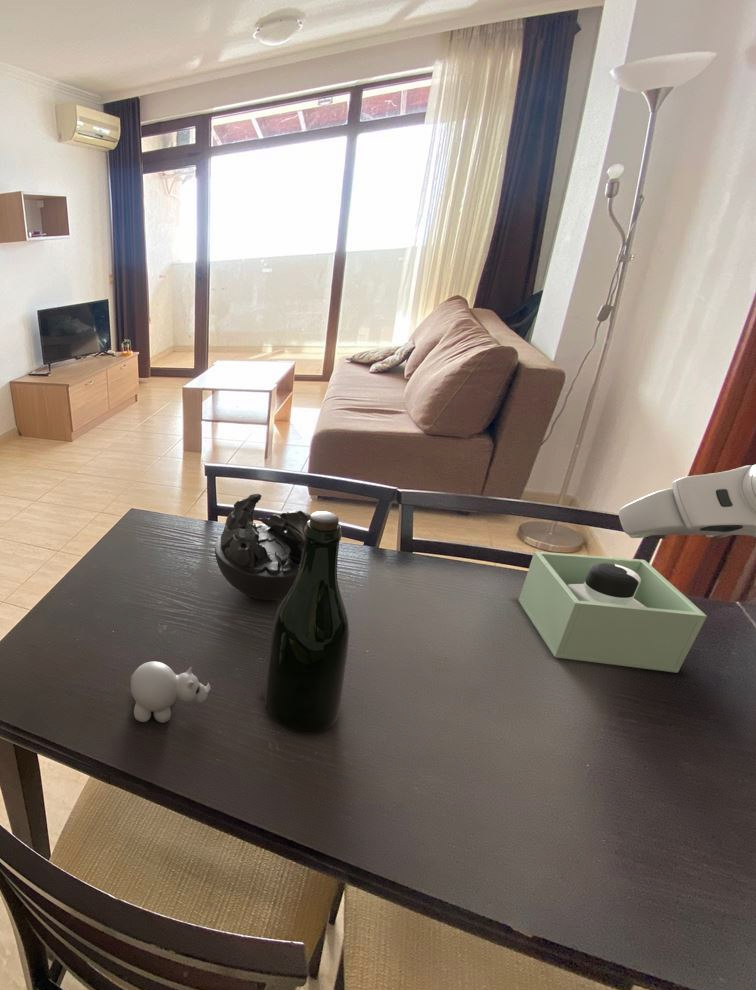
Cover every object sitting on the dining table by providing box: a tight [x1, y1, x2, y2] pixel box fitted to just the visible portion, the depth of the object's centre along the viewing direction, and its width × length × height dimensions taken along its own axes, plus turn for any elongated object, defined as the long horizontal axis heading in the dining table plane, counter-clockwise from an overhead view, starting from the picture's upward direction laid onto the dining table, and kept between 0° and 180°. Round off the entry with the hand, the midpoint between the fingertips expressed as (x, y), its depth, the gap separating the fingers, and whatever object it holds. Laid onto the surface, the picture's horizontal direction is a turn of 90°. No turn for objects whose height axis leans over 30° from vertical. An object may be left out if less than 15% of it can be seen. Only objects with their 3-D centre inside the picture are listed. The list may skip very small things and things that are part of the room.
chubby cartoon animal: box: [129, 660, 212, 724], centre depth 81 cm, size 7×12×8 cm, turn 83°
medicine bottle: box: [567, 563, 646, 607], centre depth 88 cm, size 7×7×12 cm
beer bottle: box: [264, 510, 350, 734], centre depth 74 cm, size 10×10×33 cm
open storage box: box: [518, 550, 708, 674], centre depth 89 cm, size 16×16×11 cm
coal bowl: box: [214, 492, 311, 601], centre depth 105 cm, size 20×20×19 cm
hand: (671, 532), depth 76 cm, fingers open, 8 cm apart
